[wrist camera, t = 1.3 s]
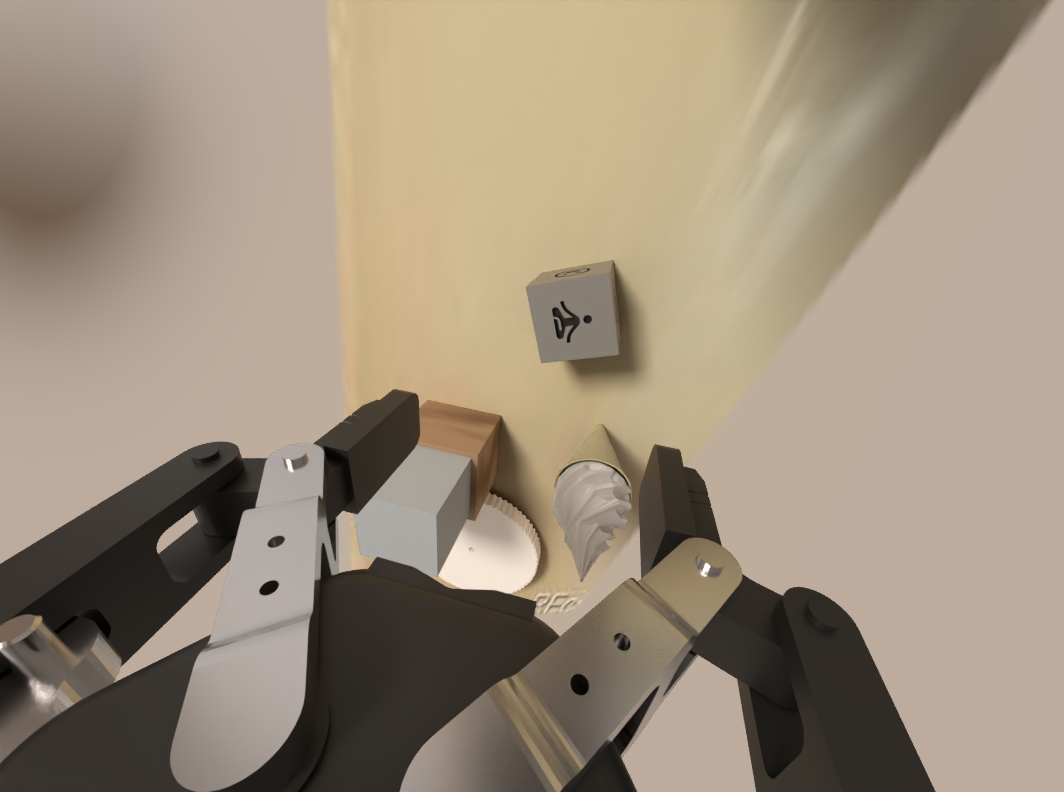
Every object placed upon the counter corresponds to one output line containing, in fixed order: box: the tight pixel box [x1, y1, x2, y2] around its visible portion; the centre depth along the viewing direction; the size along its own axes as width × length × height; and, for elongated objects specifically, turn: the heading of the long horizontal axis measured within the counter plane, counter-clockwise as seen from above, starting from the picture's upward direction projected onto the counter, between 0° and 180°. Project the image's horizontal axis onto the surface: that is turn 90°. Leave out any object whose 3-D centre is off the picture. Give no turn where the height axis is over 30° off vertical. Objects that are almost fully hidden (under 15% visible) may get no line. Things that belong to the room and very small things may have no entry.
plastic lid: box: [438, 492, 541, 594], centre depth 40 cm, size 14×14×2 cm
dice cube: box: [526, 260, 620, 363], centre depth 25 cm, size 5×5×5 cm
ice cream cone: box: [553, 424, 632, 582], centre depth 25 cm, size 5×5×15 cm
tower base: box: [417, 400, 501, 521], centre depth 33 cm, size 7×7×6 cm
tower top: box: [353, 445, 471, 577], centre depth 28 cm, size 6×6×6 cm
